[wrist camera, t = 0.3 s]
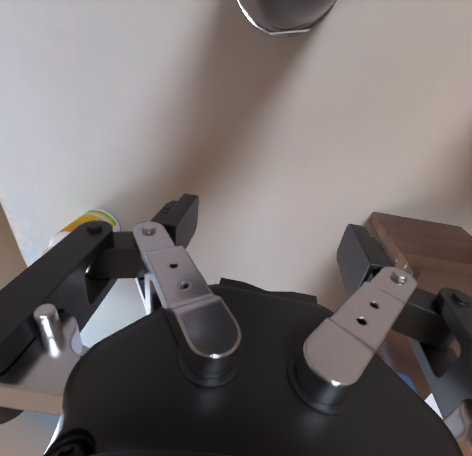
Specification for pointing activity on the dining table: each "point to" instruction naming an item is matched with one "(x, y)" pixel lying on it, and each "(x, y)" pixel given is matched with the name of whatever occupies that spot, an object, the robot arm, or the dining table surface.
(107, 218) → the supplement bottle
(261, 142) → the dining table surface
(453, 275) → the brown wooden shelf
